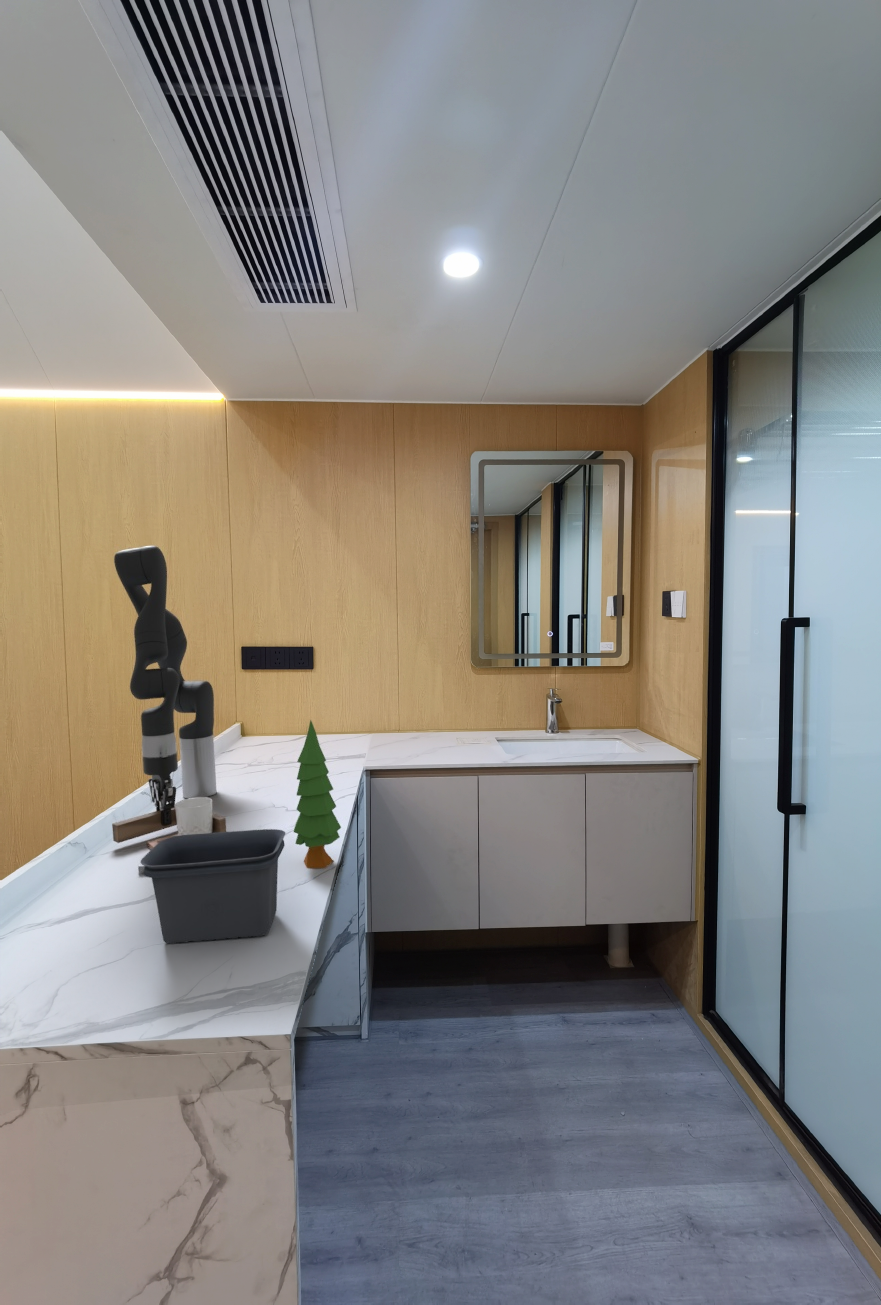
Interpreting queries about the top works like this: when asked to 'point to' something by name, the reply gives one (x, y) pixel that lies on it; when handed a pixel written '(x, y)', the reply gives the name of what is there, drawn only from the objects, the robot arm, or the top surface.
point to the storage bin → (215, 884)
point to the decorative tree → (315, 804)
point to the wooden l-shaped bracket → (154, 825)
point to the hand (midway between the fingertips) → (164, 822)
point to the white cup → (194, 816)
